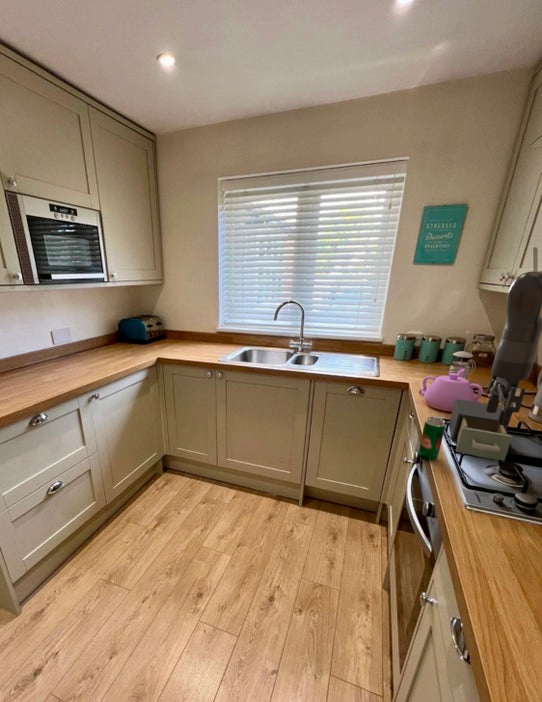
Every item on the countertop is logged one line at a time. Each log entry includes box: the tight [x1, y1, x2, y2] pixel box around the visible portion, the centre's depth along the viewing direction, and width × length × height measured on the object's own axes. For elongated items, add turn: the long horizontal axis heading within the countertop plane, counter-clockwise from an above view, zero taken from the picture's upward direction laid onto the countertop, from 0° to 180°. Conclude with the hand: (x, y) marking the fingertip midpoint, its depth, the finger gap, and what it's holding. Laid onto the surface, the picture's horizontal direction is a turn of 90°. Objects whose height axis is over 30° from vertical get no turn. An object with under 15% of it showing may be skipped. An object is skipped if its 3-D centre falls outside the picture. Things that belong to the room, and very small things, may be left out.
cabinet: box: [448, 399, 509, 443], centre depth 107 cm, size 15×13×10 cm
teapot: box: [418, 368, 484, 413], centre depth 132 cm, size 22×22×14 cm
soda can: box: [417, 416, 447, 461], centre depth 95 cm, size 5×5×12 cm
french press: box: [448, 330, 477, 380], centre depth 158 cm, size 10×12×25 cm
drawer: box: [455, 417, 513, 462], centre depth 98 cm, size 18×11×8 cm, turn 151°
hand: (496, 418), depth 87 cm, fingers open, 8 cm apart
